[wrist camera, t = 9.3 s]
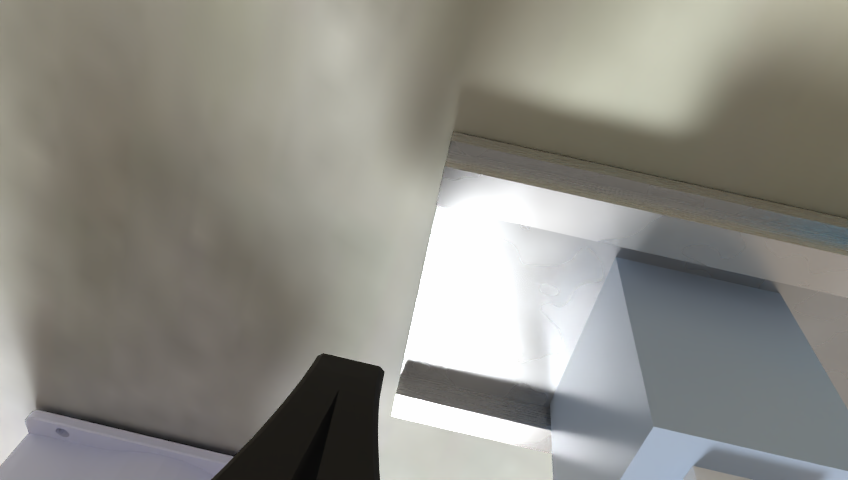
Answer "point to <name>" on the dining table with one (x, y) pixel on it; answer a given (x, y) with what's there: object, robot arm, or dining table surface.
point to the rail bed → (584, 276)
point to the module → (694, 386)
